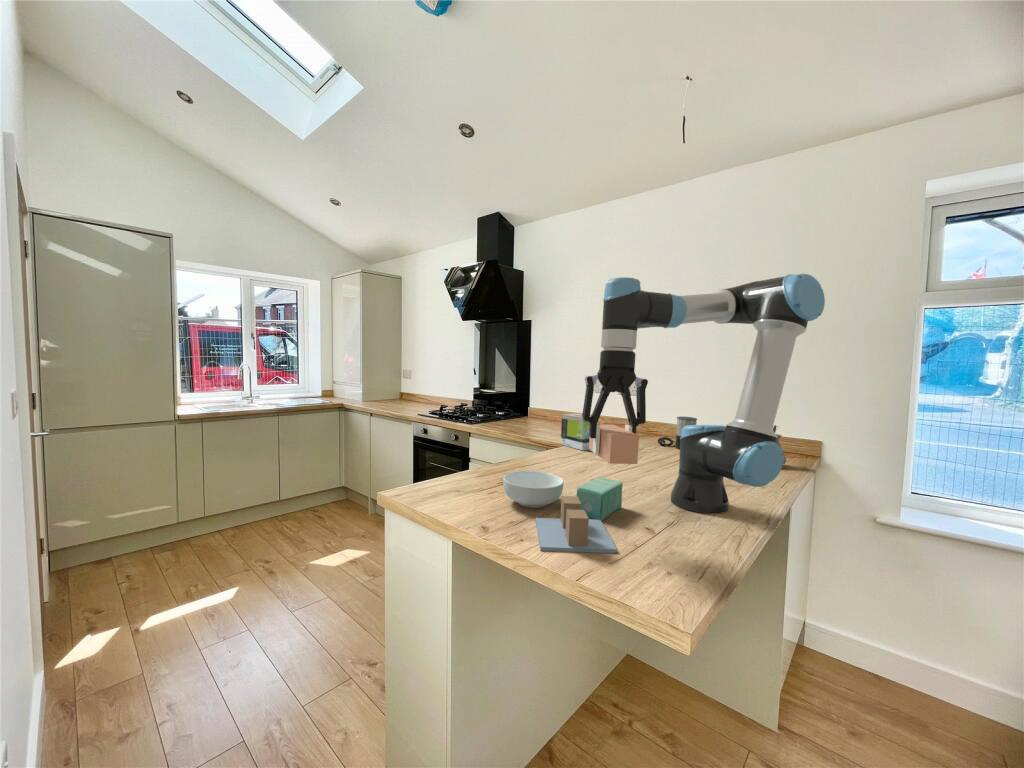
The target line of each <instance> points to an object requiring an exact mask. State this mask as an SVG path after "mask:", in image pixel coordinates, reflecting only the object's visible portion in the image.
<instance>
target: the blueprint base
mask: <svg viewBox="0 0 1024 768" xmlns="http://www.w3.org/2000/svg"><path fill="white" fill-rule="evenodd" d="M560 497H561V498H560V499H561V500H560V518H555V517H535V527H536V531H537V538H538V543H539V549H540V551H543V552H570V553H571V552H572V553H573V552H574V553H605V554H609V553H610V554H611V553H612V554H617V553H618V552H617V551H618V550H617V547H616V546H615V544H614V542H613V540H612V538H611V537H610V535H609V533H608V530H607V529H606V527H605V526H604V524H603V523H602V522H603V521H600V520H596V519H592V518H589V517H588V516H587V514H586V512H585V510H581V502H580V500H579V498H578V497H577V496H575V495H574V496H571V495H570V496H567V495H561V496H560Z"/></svg>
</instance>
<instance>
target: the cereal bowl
mask: <svg viewBox="0 0 1024 768" xmlns="http://www.w3.org/2000/svg"><path fill="white" fill-rule="evenodd" d="M502 481H503V482H502V484H503V486H502V487H503V490H504V492H505V494H506V495H507V497H508V498H509V499H511V500H512V501H513V502H516V503H518V505H520V506H522V507H525V508H532V509H534V508H543V507H545V506H548V505H550V504H553V503H555V502H556V501H558V500H559V499H560V497H561V496H562V494H563V490H564V479H563V478H562V477H560V476H558V475H556V474H553V473H550V472H543V471H535V470H518V471H517V470H516V471H511V472H509V473H506V474H505V475H504V476H503V480H502Z"/></svg>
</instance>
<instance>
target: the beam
mask: <svg viewBox="0 0 1024 768" xmlns="http://www.w3.org/2000/svg"><path fill="white" fill-rule="evenodd" d="M600 425H601V428H600V443H599V454H596V455H597V456H598V457H599V458H601V459H602V460H604V461H605V462H606V463H608V464H610V465H611V464H612V465H613V464H616V465H617V464H621V465H623V464H624V465H638V461H639V458H638V457H639V445H640V435H639V434H637V433H636V434H635V433H632V432H630V431H628V430H625V428H623V427H620V426H618V425H616V424H600ZM593 439H594V438H589V449H590V450H589V451H591V452H592V453H594V452H593Z"/></svg>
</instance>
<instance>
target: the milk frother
mask: <svg viewBox="0 0 1024 768" xmlns="http://www.w3.org/2000/svg"><path fill="white" fill-rule="evenodd" d="M697 420H698V418H696V417H692V416H676V433H675V434H676V437H675V440H673V439H672V438H670V437H666V436H662V437H660V438H658V439H657V444H659V445H660V446H664V447H671V446H672V445H674V448H675V449H679V450H680V438H681V433H682V428H683V427H684V426H686V425H697ZM666 441H669V442H670V443H666Z"/></svg>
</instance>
